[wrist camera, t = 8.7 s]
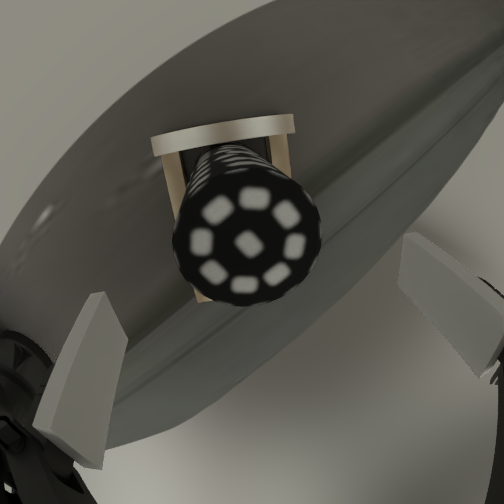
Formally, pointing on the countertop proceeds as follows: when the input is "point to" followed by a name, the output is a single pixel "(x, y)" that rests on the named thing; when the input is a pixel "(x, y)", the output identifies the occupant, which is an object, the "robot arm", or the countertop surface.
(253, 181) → the white-spotted black cylinder
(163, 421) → the countertop surface
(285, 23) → the countertop surface
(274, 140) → the guide channel
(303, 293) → the countertop surface
